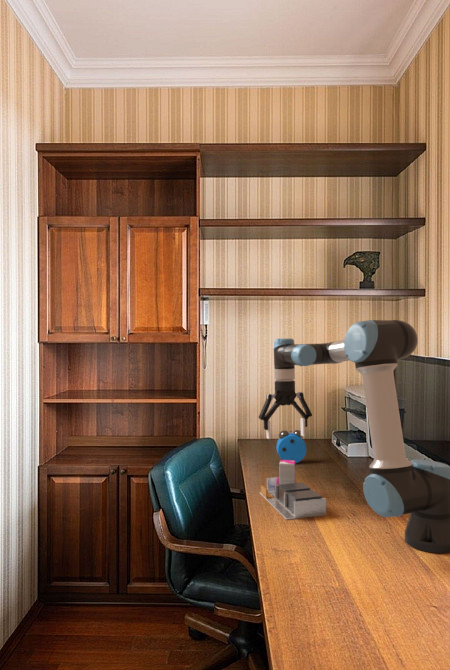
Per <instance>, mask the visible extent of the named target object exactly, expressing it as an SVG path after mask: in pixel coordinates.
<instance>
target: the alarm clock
mask: <svg viewBox="0 0 450 670" xmlns="http://www.w3.org/2000/svg"><path fill="white" fill-rule="evenodd" d="M278 438H279V439H277V442H276V451H277V454H278V456H279V458H280V459H281V460H294V461H295V464H298V463H300V462H301V461H302V460H304V458H305V456H306V454H307V445H306V441H304V439H303V438H304V437H303V436H301V429H300V430H299V429H294V431H288V430H287V429H286V430H284V429H283V430H281V431H280V432H279V434H278Z"/></svg>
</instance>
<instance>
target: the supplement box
mask: <svg viewBox="0 0 450 670" xmlns="http://www.w3.org/2000/svg"><path fill="white" fill-rule="evenodd" d="M278 464H279V465H278V467H279V468H278V469H279V470H278V474H279V475H278V477H279V485H280V484H290V483H296V463H295V461H294V460H282V459H281V460H279V463H278Z"/></svg>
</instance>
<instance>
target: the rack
mask: <svg viewBox="0 0 450 670" xmlns="http://www.w3.org/2000/svg"><path fill="white" fill-rule="evenodd" d="M259 494H260V495H261V496H262V497H263V498H264V499H265V500H266V501H267V502H268V503H269V504H270V506H271V507H273V508H274V509H275V510H276V511H277V512H278V513H279V514H280V516H282V517H283V518H284V519H285V520H286V521H287V520H296V519H305V518H312V517H313V518H314V517H320V516H321V517H322V516H327V498H326V497H322V495H321V494H320V493H318V492H316V490H315V489H311V487H310V486H308V485H307V484H306V483H305V482H304V481H303V482H302V481H300V482H295V483H290V484H280V485H279V476H275V477H274V476H273V477H266V487H265V486H264V485H263V484H262V485H260V491H259Z"/></svg>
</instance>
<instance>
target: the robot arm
mask: <svg viewBox="0 0 450 670" xmlns="http://www.w3.org/2000/svg"><path fill="white" fill-rule="evenodd" d="M417 346H418V334H417V332H416V329H415V328H414V327H413V326H412V325H411V324H410V323H408V322H406V321H403V320H399V319H392V320H391V319H389V320H388V319H381V320H380V319H377V320H375V319H374V320H373V319H368V320H362V321H361V320H360V321H357V322H355V323H353V324H352V325H351V326H350V327H349V328H348V329H347V332H346V333H345V336H344V339H341V340H337V341H331V342H324V343H299V344H297V343H295V340H294V339H293V338H289V337H288V338H276V339H274V341H273V349H272V350H273V366H274V369H273V371H274V380H275V381H274V393H273V394H271V393H266V399H265V401H264V404H263V406H262V408H261V411H260V413H259V415H258V419H259V420H261V421H263V430H265V432H266V433H265V434H266V436H265V437H266V439H267V440H271V439H272V436H271V432H272V431H271V421H270V419H271V417H273V415H274V414H275V412H276V411H277V409H278V408H279V407H281V406H290V405H291V406H293V407H294V409H295V410H296V412H297V413H299V415H300V416H301V417H300V421H299V422H300V430H301V436H303V438H304V437H306V428H308V419H309V418H311V417H312V416H313V414H312V411H311V409H310V407H309V405H308V404H307V401H306V400H305V395H304V392H302V391H298V392H296V381H295V379H296V373H295V371H296V369H295V368H296V367H295V366H300V367H308V366H312V365H315V366H316V365H327V364H329V365H330V364H332V365H333V364H334V365H335V364H341V363H344V362H349V361H350V362H353V363H354V367H355V370H356V371H357V372H359V374H360V375H361V377H362V382H363V385H362V386H363V391H364V397H365V398H364V399H365V405H366V412H367V419H368V425H369V426H368V427H369V433H370V434H369V435H370V440H371V441H370V442H371V447H372V454H373V455H372V456H373V461H372V462H371V463H370V465H369V466H368V467H369V475H367V476H366V477H365V478H364V482H363V483H362V485H363V487H362V488H363V490H362V491H363V495H364V498H365V500H366V502H367V504H368V506H369V508H371V509H372V511H373V512H374V513H375V514H377V515H378V516H381V517H382V518H392V517H393V518H394V517H395V518H398V517H402V516H404V515H407V514H409V517H408V520H407V524H406V526H405V527H406V528H405V529H404V541H405V543H406V544H407V545H408V546H410V547H411V548H413V549H416V550H419V551H422V552H428V553H434V554H448V553H450V465H448V464H447V463H444V462H440V461H434V460H428V459H416V458H415V459H411V460H409V459H408V458H407V456H406V448H405V442H404V436H403V429H402V422H401V416H400V410H399V402H398V395H397V389H396V388H397V387H396V382H395V375H394V374H395V373H394V370H395V369H396V368H397V367H398V365H399V363H398V360H402V359H405V358H407V357H409V356H410V355H412V354H414V352H415V350H416V348H417ZM296 398H297V399H298V400H299V402H300V404H301V407H302V408H303V409H302V408H301V407H300V405H299V404H298V403H297V402H296V400H295V399H296ZM274 399H275V401H274V402H273V403H272V401H273V400H274ZM271 404H272V406H271V407H270V405H271ZM269 407H270V408H269Z"/></svg>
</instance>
